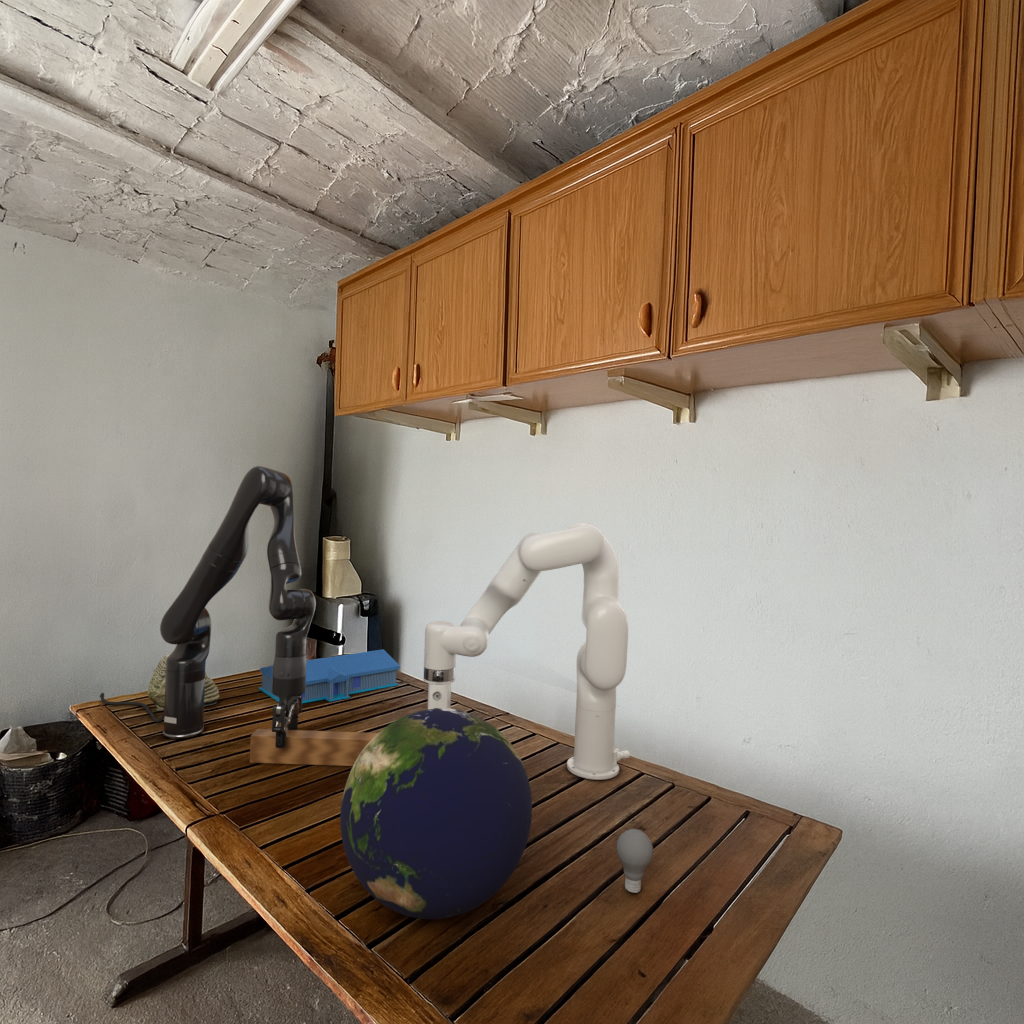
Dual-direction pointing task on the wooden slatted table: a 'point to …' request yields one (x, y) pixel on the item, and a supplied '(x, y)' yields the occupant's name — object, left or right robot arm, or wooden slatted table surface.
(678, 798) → the wooden slatted table surface
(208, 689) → the fossil
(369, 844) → the globe
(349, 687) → the model building
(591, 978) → the wooden slatted table surface
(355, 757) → the beam
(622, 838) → the light bulb
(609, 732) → the right robot arm
